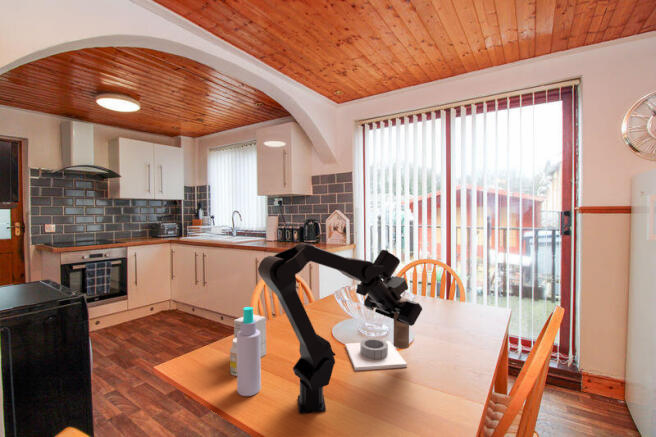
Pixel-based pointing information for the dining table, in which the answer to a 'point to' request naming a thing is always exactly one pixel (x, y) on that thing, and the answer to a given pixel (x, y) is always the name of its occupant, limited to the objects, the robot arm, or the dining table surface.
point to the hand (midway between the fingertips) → (404, 321)
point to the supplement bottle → (233, 358)
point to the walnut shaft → (401, 331)
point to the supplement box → (259, 326)
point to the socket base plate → (374, 355)
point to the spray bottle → (248, 356)
